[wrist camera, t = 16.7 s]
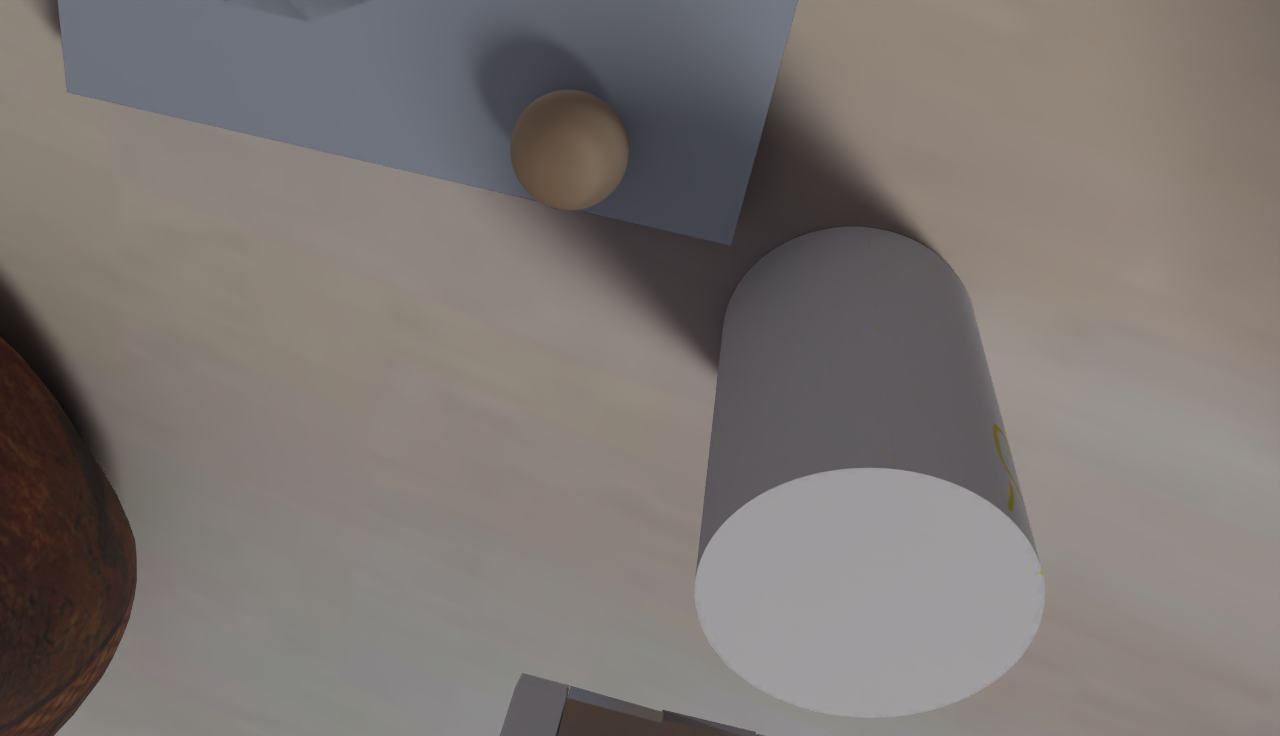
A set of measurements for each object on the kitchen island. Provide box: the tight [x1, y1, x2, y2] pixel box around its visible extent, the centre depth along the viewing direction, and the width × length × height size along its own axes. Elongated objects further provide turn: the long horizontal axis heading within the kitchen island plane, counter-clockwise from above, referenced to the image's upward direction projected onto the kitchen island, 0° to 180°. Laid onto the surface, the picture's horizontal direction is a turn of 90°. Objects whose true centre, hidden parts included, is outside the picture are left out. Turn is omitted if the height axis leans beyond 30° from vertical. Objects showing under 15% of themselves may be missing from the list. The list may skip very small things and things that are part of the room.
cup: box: [695, 227, 1045, 718], centre depth 31 cm, size 8×8×12 cm
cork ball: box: [510, 90, 629, 210], centre depth 30 cm, size 3×3×3 cm
